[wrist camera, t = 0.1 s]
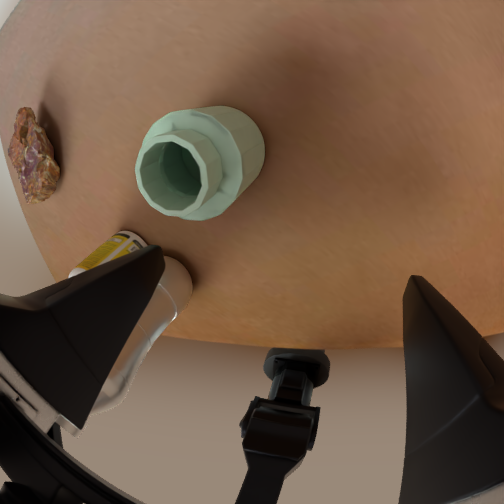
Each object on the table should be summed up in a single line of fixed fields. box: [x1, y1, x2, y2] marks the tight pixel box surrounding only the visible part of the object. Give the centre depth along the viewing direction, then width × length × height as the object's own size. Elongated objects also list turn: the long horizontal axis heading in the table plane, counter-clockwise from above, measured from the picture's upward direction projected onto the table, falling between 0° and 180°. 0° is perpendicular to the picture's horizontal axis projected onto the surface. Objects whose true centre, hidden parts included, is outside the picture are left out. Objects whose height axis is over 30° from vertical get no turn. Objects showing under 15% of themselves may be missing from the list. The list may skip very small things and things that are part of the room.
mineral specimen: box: [8, 107, 60, 204], centre depth 23 cm, size 12×8×7 cm
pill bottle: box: [68, 231, 148, 278], centre depth 25 cm, size 6×6×11 cm
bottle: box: [135, 106, 265, 221], centre depth 17 cm, size 7×7×8 cm
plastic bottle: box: [55, 256, 193, 438], centre depth 21 cm, size 6×7×20 cm
